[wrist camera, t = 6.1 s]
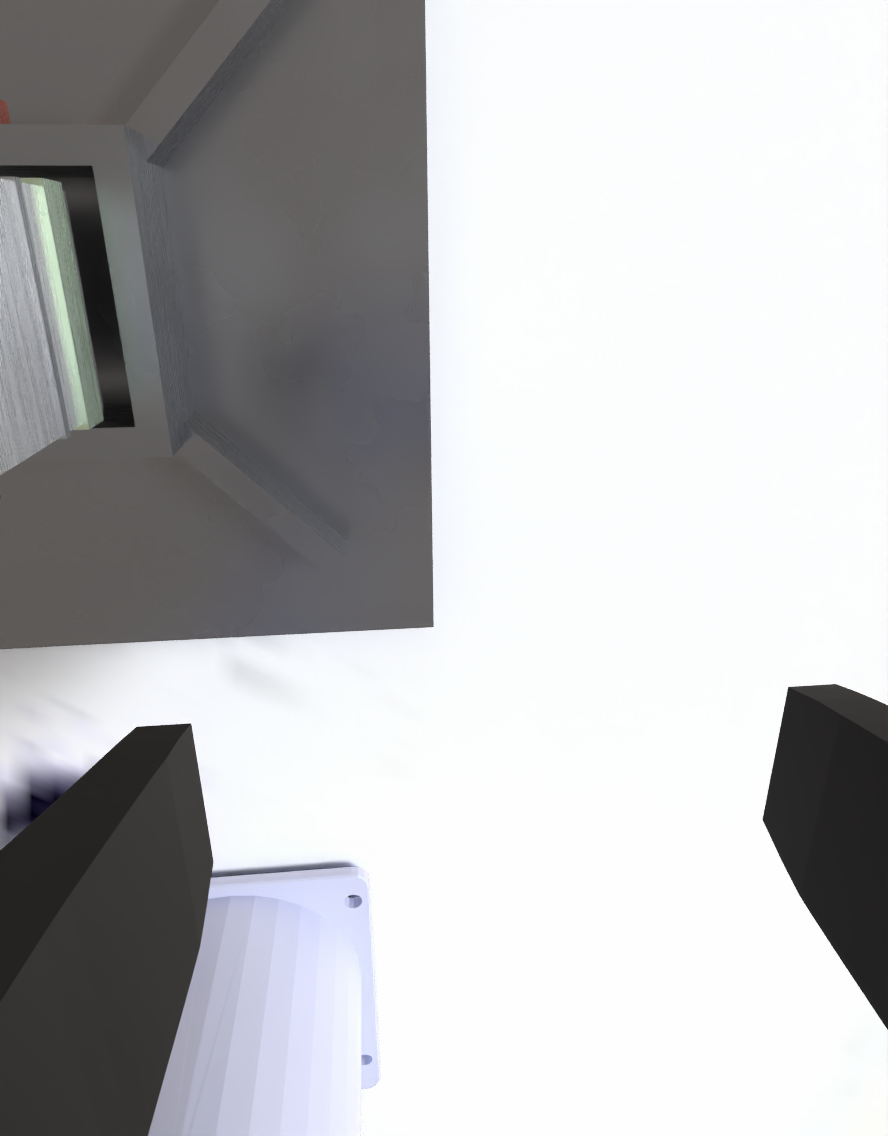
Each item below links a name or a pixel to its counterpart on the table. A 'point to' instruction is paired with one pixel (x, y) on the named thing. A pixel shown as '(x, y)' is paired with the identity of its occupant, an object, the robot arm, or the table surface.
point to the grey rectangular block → (41, 324)
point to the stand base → (229, 319)
